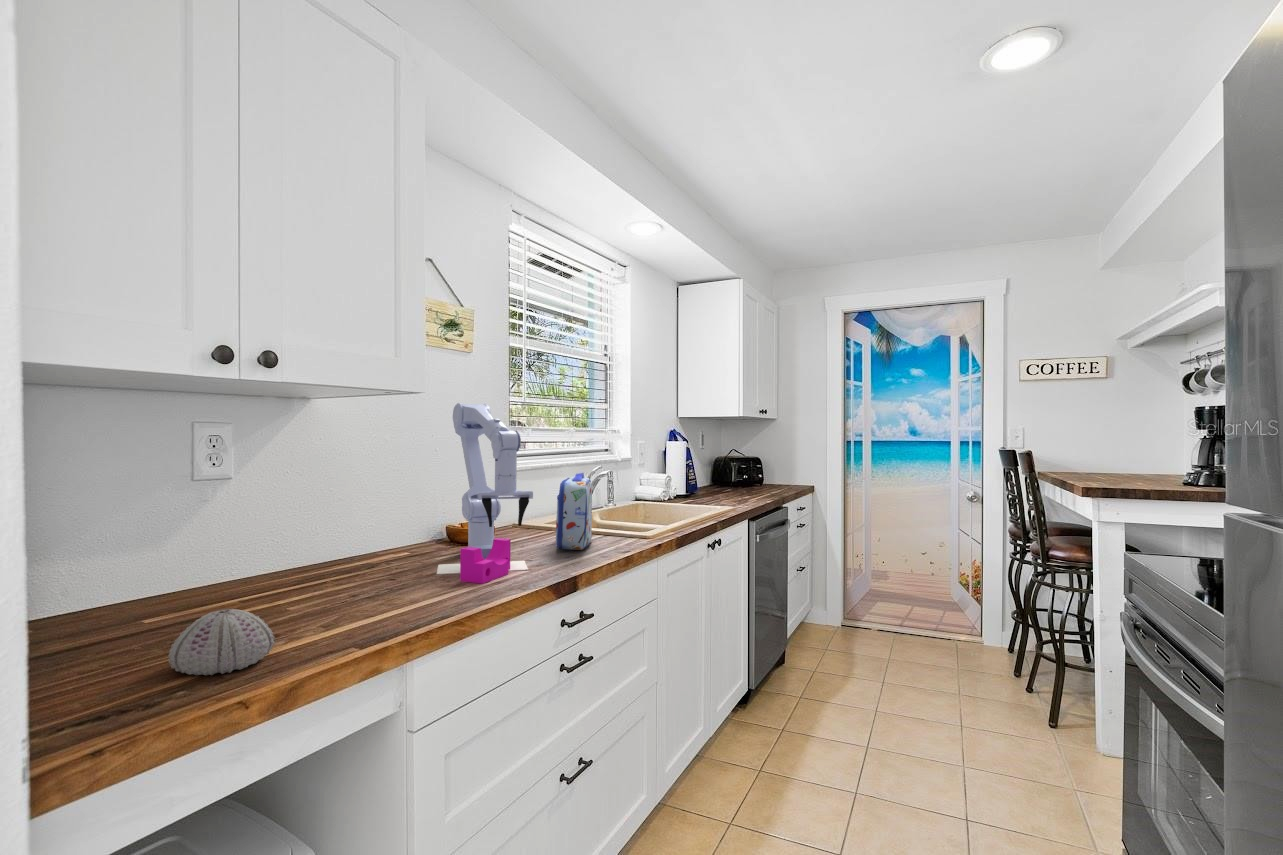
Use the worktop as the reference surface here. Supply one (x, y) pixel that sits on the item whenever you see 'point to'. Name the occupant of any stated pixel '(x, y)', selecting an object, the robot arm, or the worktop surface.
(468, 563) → the toy block
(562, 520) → the lunch box
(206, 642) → the sea urchin shell
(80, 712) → the worktop surface
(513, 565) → the letter board
